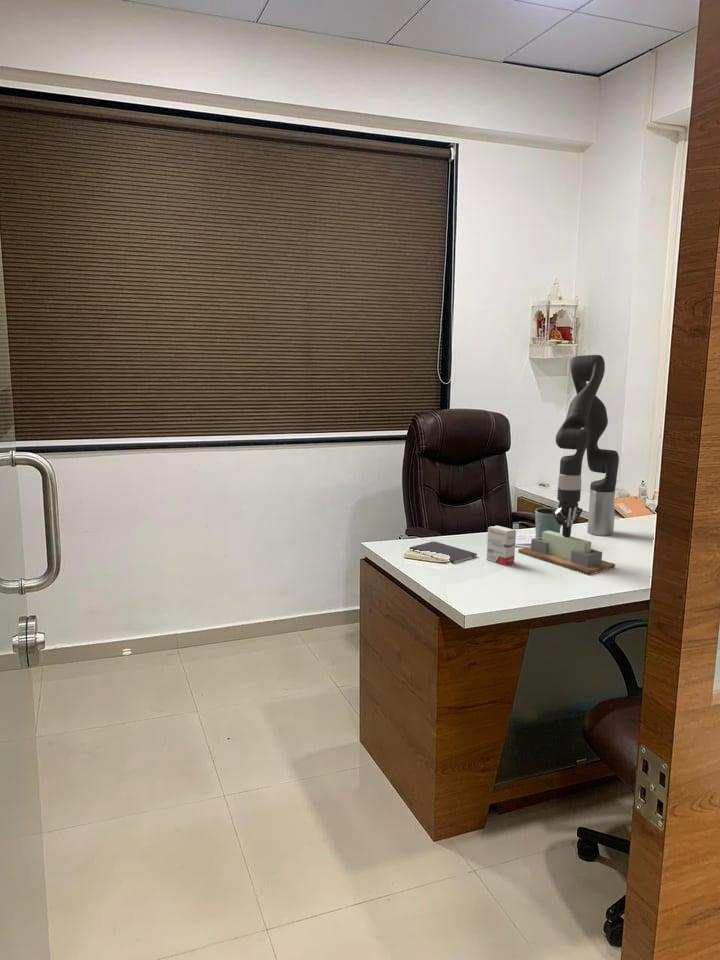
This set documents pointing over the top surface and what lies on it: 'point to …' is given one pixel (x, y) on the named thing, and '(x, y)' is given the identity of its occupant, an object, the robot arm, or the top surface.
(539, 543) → the end cap
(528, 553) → the mounting board
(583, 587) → the top surface
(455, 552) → the notebook
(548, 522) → the grey green cup
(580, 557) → the end cap
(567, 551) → the pale green block
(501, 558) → the ink box
